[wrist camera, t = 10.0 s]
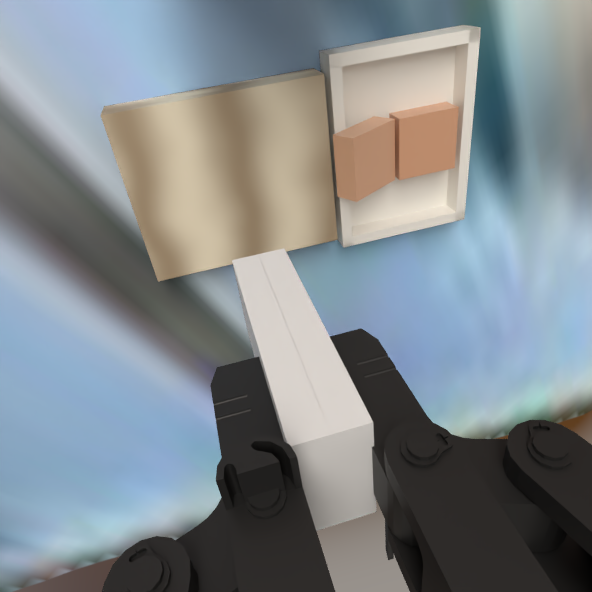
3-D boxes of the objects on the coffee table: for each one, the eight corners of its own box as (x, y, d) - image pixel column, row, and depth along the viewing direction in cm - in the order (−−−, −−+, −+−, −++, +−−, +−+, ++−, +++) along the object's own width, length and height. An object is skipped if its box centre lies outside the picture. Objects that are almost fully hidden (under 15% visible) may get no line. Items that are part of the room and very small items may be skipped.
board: (157, 265, 38) (158, 281, 36) (104, 106, 31) (100, 115, 29) (328, 226, 39) (337, 239, 37) (313, 68, 33) (324, 74, 31)
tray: (334, 235, 40) (343, 247, 38) (319, 50, 32) (328, 55, 30) (450, 208, 41) (464, 219, 40) (463, 24, 33) (480, 27, 32)
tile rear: (454, 167, 37) (443, 160, 38) (458, 106, 34) (446, 101, 36) (399, 180, 36) (389, 172, 38) (399, 119, 33) (389, 113, 35)
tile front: (337, 196, 35) (356, 202, 34) (332, 134, 32) (353, 138, 31) (376, 175, 37) (395, 179, 36) (374, 116, 35) (394, 118, 34)
